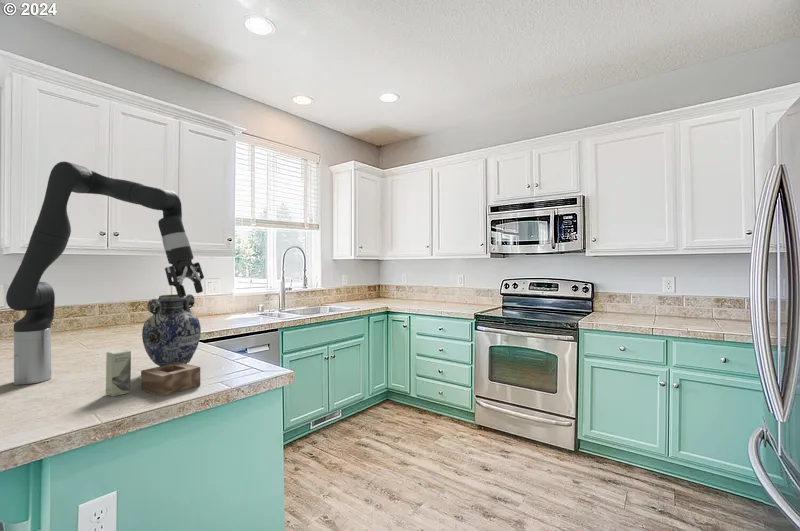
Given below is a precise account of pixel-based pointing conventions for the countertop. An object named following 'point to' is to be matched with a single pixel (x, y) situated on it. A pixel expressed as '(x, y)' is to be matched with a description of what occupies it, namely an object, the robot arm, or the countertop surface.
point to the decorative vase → (171, 330)
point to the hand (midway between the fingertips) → (191, 294)
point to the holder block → (170, 378)
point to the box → (118, 372)
